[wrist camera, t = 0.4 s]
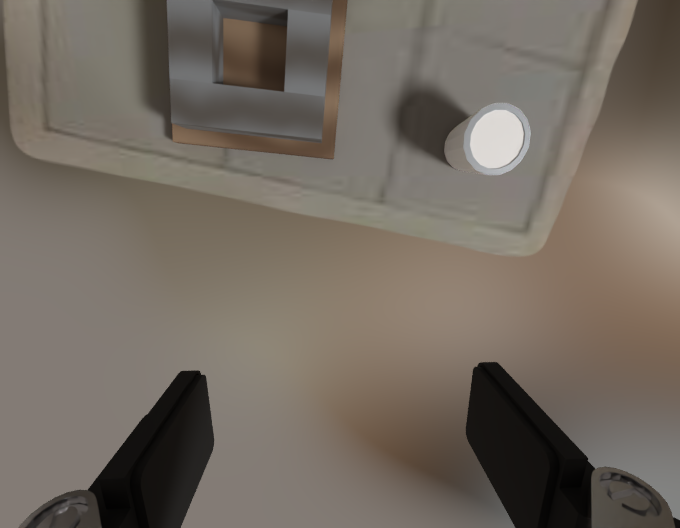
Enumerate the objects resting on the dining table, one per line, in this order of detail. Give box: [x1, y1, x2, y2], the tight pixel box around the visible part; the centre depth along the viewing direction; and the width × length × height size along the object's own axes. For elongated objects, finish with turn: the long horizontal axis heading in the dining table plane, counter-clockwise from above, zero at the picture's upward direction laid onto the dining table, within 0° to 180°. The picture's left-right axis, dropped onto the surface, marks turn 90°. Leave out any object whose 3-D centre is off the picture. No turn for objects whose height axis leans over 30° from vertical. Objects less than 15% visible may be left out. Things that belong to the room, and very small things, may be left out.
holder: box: [167, 0, 347, 159], centre depth 32 cm, size 18×18×5 cm
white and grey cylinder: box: [444, 103, 531, 175], centre depth 34 cm, size 7×7×7 cm
